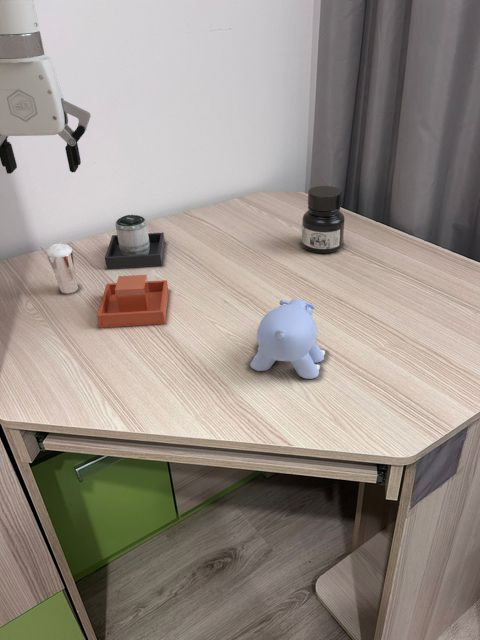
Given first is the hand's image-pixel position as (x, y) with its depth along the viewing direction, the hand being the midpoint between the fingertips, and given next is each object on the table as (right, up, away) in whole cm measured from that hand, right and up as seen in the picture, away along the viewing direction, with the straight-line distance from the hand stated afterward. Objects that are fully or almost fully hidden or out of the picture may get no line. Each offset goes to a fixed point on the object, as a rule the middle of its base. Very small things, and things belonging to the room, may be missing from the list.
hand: (43, 170), depth 85 cm
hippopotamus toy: (+39, -30, 0) cm, 49 cm away
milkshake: (-3, -17, +18) cm, 25 cm away
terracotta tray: (+12, -21, +12) cm, 27 cm away
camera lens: (+8, -8, +29) cm, 32 cm away
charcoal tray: (+8, -8, +30) cm, 32 cm away
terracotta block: (+12, -21, +12) cm, 27 cm away
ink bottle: (+48, -6, +32) cm, 58 cm away
